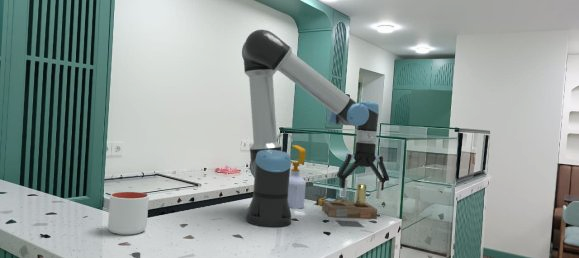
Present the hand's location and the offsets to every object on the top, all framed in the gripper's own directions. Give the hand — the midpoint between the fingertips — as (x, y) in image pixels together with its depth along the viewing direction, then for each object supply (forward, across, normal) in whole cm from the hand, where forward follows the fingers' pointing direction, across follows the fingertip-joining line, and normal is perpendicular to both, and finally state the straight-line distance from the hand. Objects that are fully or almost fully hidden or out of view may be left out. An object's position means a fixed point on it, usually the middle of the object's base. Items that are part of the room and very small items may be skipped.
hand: (361, 197), depth 158 cm
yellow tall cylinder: (+7, 0, 0) cm, 7 cm away
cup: (+7, -78, -33) cm, 85 cm away
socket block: (+7, -4, 0) cm, 8 cm away
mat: (+7, -8, -15) cm, 19 cm away
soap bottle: (+7, -24, +11) cm, 28 cm away
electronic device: (+8, -5, +14) cm, 17 cm away
